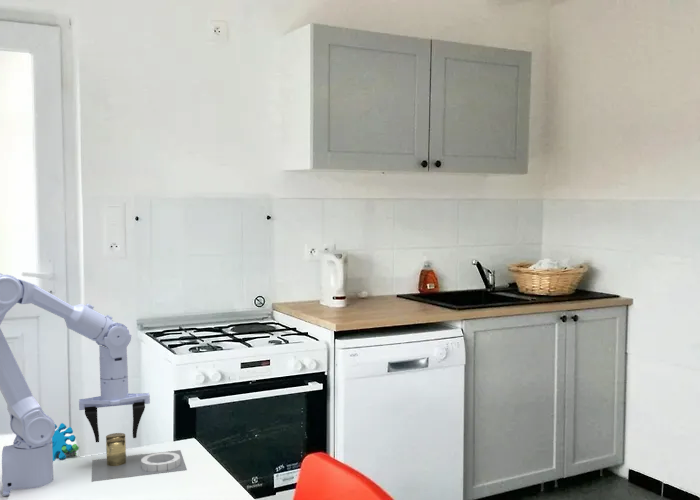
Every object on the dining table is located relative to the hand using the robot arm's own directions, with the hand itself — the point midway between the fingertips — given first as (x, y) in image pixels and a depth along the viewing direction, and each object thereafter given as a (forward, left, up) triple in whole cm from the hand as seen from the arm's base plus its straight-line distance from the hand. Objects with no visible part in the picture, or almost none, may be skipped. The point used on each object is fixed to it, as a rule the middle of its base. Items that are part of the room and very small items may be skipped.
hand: (116, 438), depth 160 cm
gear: (-13, +10, -7) cm, 18 cm away
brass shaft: (0, 0, -5) cm, 5 cm away
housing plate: (+4, -3, -6) cm, 8 cm away
